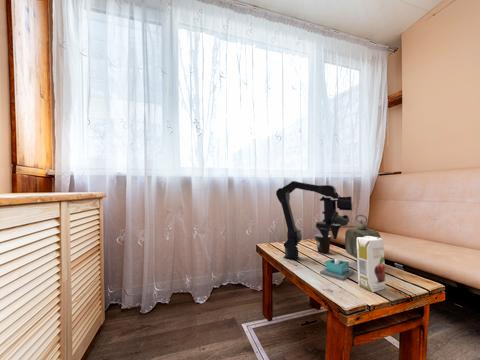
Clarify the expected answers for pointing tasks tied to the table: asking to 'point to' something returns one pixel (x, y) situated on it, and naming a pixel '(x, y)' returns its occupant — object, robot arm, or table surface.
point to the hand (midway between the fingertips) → (330, 240)
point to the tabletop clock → (352, 236)
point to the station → (340, 277)
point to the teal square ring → (337, 267)
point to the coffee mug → (322, 244)
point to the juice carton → (371, 263)
